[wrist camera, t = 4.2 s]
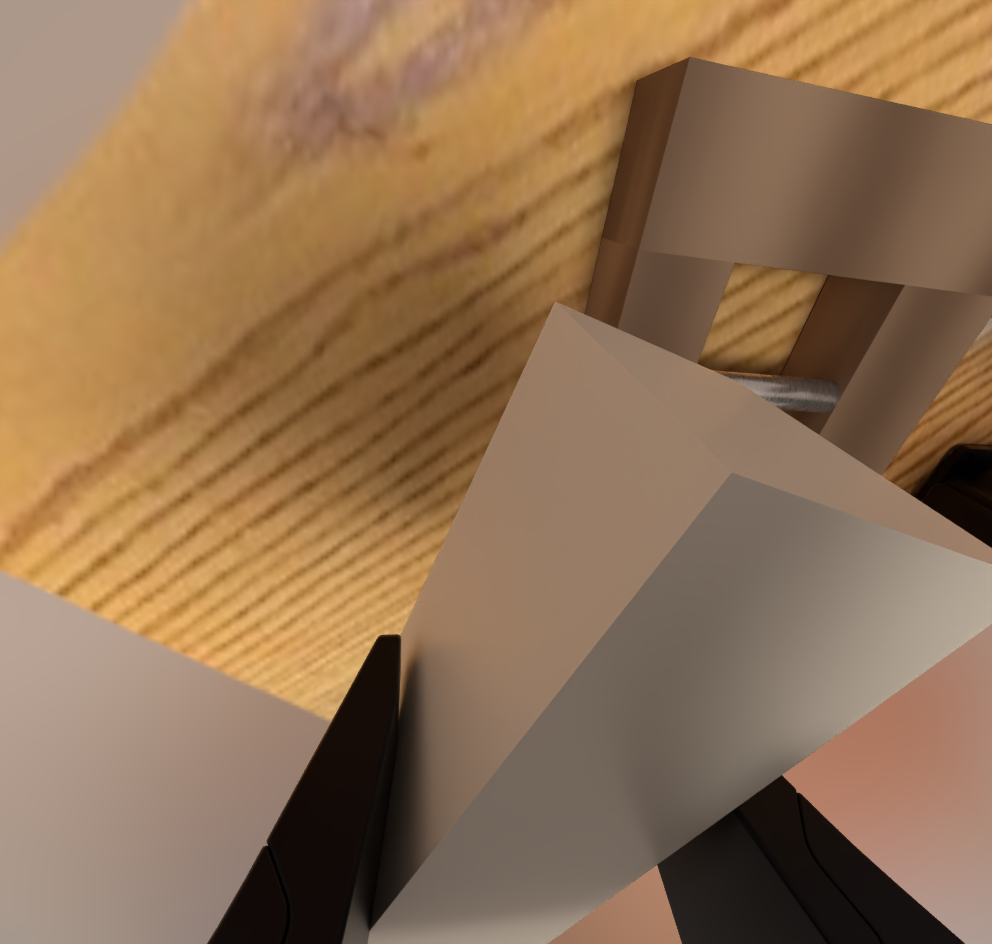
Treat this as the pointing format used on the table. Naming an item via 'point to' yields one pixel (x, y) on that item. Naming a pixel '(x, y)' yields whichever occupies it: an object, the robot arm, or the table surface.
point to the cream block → (641, 634)
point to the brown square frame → (805, 238)
